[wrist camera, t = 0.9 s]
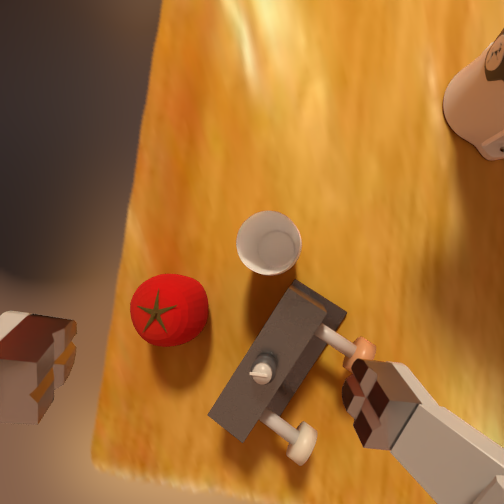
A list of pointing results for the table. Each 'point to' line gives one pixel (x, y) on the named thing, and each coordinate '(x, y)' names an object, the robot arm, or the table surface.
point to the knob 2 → (347, 346)
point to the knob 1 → (292, 436)
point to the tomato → (169, 309)
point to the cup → (269, 243)
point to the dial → (264, 369)
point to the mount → (277, 359)
